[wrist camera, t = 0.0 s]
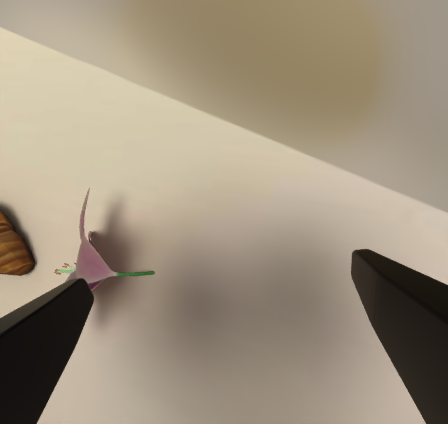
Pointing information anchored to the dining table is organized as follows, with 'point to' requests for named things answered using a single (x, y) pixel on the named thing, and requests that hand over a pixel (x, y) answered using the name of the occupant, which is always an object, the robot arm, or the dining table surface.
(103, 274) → the lily
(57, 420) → the dining table surface
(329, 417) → the dining table surface
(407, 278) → the robot arm
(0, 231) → the croissant
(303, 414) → the dining table surface
